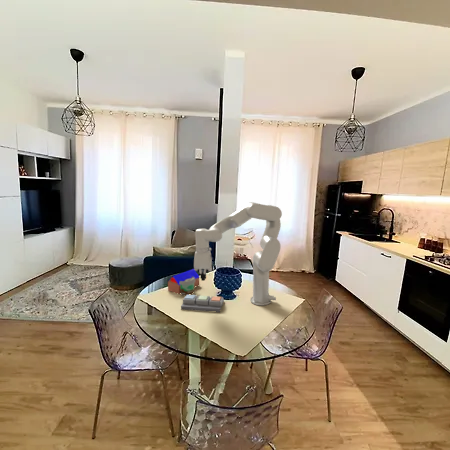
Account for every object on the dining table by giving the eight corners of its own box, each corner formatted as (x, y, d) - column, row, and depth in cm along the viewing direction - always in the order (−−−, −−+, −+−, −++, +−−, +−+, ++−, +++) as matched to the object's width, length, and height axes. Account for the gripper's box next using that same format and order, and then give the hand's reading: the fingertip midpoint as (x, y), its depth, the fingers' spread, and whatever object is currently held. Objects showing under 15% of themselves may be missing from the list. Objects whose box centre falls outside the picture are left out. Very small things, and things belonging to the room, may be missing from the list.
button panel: (223, 301, 158) (223, 294, 157) (219, 312, 144) (219, 304, 144) (188, 299, 161) (188, 292, 161) (181, 309, 148) (180, 302, 147)
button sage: (208, 299, 154) (208, 295, 154) (206, 303, 150) (206, 299, 149) (200, 299, 155) (200, 295, 155) (198, 302, 150) (197, 298, 150)
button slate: (195, 298, 156) (195, 295, 155) (193, 302, 151) (193, 298, 151) (187, 298, 157) (187, 294, 156) (185, 301, 152) (184, 298, 151)
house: (167, 290, 175) (166, 274, 174) (188, 282, 191) (187, 267, 189) (179, 295, 168) (178, 278, 166) (200, 285, 184) (199, 270, 182)
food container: (186, 298, 163) (185, 283, 161) (179, 295, 167) (179, 281, 165) (199, 291, 173) (199, 277, 171) (192, 289, 176) (192, 275, 175)
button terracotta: (221, 300, 153) (221, 296, 153) (219, 304, 148) (219, 300, 148) (212, 300, 154) (212, 296, 154) (211, 303, 149) (211, 299, 149)
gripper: (216, 248, 150) (217, 278, 153) (191, 248, 153) (193, 277, 155) (213, 251, 143) (214, 282, 146) (188, 251, 145) (189, 281, 148)
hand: (203, 279), depth 151 cm, fingers closed
